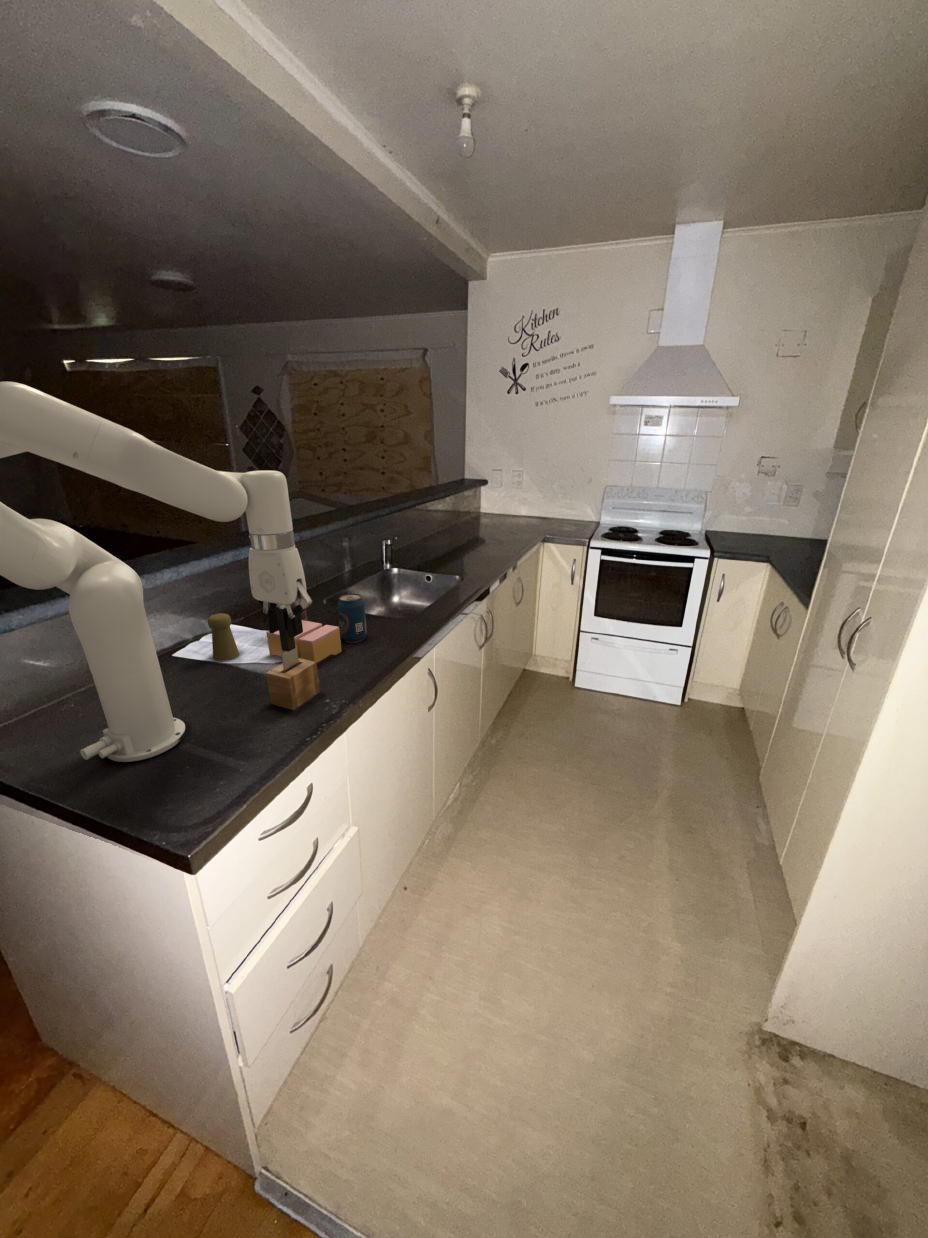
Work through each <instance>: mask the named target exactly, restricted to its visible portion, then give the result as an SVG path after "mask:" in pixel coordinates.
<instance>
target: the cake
mask: <svg viewBox="0 0 928 1238" xmlns="http://www.w3.org/2000/svg"><path fill="white" fill-rule="evenodd" d="M302 626H303V632H302V633H301V634H299V635H297V636H295V637H294V639H295V645H296V646H297V653H298V658H301V659H302V657H301V650H300V643H299V639H300V638H302V637H304V636H305V635H307V634H309V633H311V632H313V631H315V630H317V629H319V628H321V627H323V623H320V622H315V621H310V620H308V621H304V620H302ZM265 634H266V640H267V646H268V652H269V657H272V656H273V655H274V656H277V657H278V656H279V657H282V656H281V653H282V652H284V651H283V650H282V647H281V641H280V634H279V631H277V632H275V633H270V632H269V630H267V631H266V633H265Z"/></svg>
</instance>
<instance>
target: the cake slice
mask: <svg viewBox="0 0 928 1238" xmlns="http://www.w3.org/2000/svg"><path fill="white" fill-rule="evenodd" d="M299 643H300V650H301V657H302V658H301V659H305V660H310V661H314V662H316V663H317V664H318V663H320V662H321V661H323V660H324V659H326V658H327V657H329V656H331V655H333V656H336V655H339V654H340V653H342V640H341V633H340V626H335V625H331V624H325V625H322V627H321V628H319V629H317V630H315V631H313V632H311V633H309V634H307V635H305V636H304V637H302V638H300V639H299Z"/></svg>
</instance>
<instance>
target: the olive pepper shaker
mask: <svg viewBox="0 0 928 1238" xmlns="http://www.w3.org/2000/svg"><path fill="white" fill-rule="evenodd" d="M231 625H232V618H231V616H230V615H229V614H227V613H224V612H223V613H221V612H220V613H215V614H212V615H210V616H208V619H207V626H208V628H209V629H210V630H211V645H212V659H213V661H216V662H226V661H231V660H234V659H236V658H238V657H239V656H240V650H239V649H238V646H237V643H236V640H235V637H234V633H233V632H232V629H231Z"/></svg>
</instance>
